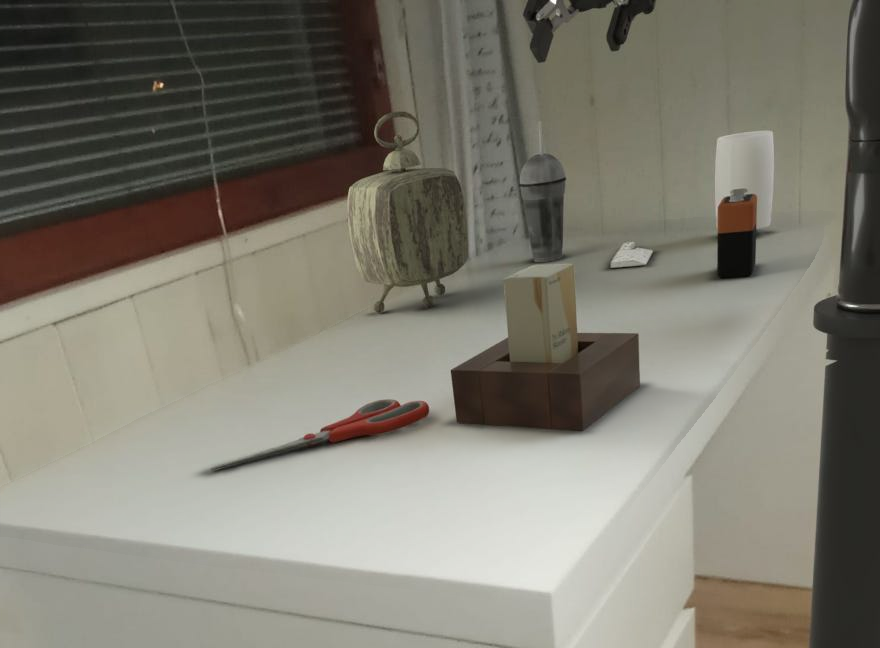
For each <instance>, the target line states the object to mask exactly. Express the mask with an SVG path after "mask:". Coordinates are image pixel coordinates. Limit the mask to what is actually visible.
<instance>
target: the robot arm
mask: <svg viewBox="0 0 880 648" xmlns="http://www.w3.org/2000/svg"><path fill="white" fill-rule="evenodd" d="M568 2H569V3H570V5H569V6H568V7H567V6H566V4H565V2H564V0H527V2H526V5H525V7H524V10H523V12H522V16H523V19H524V21H525V22H526V25H527V26H528V28H529V31H530V32H531V34H532V37H531V40H530V43H529V50H530V51H531V53H532V55H533V57H534V59H535V60H536V62H537V64H541V63H545V62H547V58H548V55H549V52H550V48H551V45H552V42H553V38H554V33H555V32H556V31H557V30H558V29H559V28H560V27H561V26H562V25H563V24H564V23H565V24H568V23H570V22H571V21H572V20H573V19H574V18H575V17H576V16H577V14H579V13H583V12H584V13H585V12H588V11H590V10H592V9H598V10H599V9H606V8H607V6H608V5H609V4H611V3H612V4H613V5H614V8H613V12H612V15H611V19H610V21H609V24H608V28H607V32H606V36H605V37H606V39H605V40H606V43H607V45H608V47H609V50H610V52H618V51H620V49H621V46H623V45H624V44H625V43H626V41H627V38H628V36H629V32H630V28H631V26H632V25H631V24H632V22H633V21H634V20H635V19H636V18H637V16H638V15H640V14H642V13H643V15H650V14H651V13H653V12H654V10H655V7H656V2H657V0H568ZM554 12H555V16H553V17H552V18H550V16H552V14H553V13H554ZM846 36H847V37H846V57H845V59H846V60H845V87H844V89H845V90H844V103H845V104H844V105H845V112H846V117H847V122H848V124H847V127H848V130H847V146H846V147H847V150H846V151H847V152H846V165H845V179H844V180H845V182H844V197H843V211H842V212H843V213H842V226H841V227H842V228H841V243H840V257H839V274H838V286H837V295H838V296H837V307H838V308H839V309H841V310H844V311H848V312H853V313H865V314H880V0H852V1H851V4H850V9H849V15H848V23H847V35H846Z"/></svg>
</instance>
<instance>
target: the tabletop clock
mask: <svg viewBox="0 0 880 648" xmlns="http://www.w3.org/2000/svg"><path fill="white" fill-rule="evenodd" d="M394 118H405V119H408V120H410V121H412V123H413V124H414V126H415V132H414V133H413V134H412V135H411V136H410V137H408V138H407V139H404V140H403V137H402V136H401V135H399V134H396V135H395V136H394V137H393V139H394V142H387V141H384V140H382V139H380V137H379V130H380V128H381V126H382V125H383V124H384V123H385V122H386V121H388V120H392V119H394ZM419 132H420V124H419V122H418V120H417V118H416V117H415V116H414V115H413V114H412V113H410V112H408V111H392V112H389V113H387V114H384V115H383V116H381V118H379V119H378V121H377V123H376V124H375V127H374V138H375V141H376V142H377V143H378V144H379V145H380V146H381V147H383V148H387V149H395V150H393V151H390V153H388V154H387V156H386V157H385V159H384V163H383V166H382V167H383V168H382V171H383V172H380V173H376V174H372V175H370V176H365V177H364V178H361V179H359V180H358V181H356V182H354V183H353V184H352V185H350V187H349V189H348V194H347V209H346V210H347V213H346V214H347V222H348V232H349V233H348V234H349V240H350V245H351V249H352V253H353V258H354V262H355V264H356V265H355V266H356V268H357V271H358V273H359V275H360V277H361V279H362V280H363V282H367V283H371V284H376V285H383V289H382V293H381V295H380V298H379V300H376V301H375V302H373V308H372V309H373V310H374V311H375V312H376V313H379V314H380V313H382V312H383V311H384V310H385V303H384V302H385V299H386V298H387V296H388V294H389V292H390V291H391V290H392V289H393V288H395V287H397V288H408V287H414V286H419V285H420V286H421V289H422V291H423V294H424V297H423V299H422V304H423V306H424V307H425V308H428V309H429V308H432V307H433V306H434V305H435V297H433V296H432V295H430V294H429V288H428V284H430V283H433V282H434V283H435V284H436V285H435V286H434V293H435V294H436V295H437V296H442V295H444V294H445V293H446V286H445V285H444V284H443V283H441V279H444V278H447V277H449V276H451V275H453V274H455V273H457V272H458V271H459V270H460V269H462V267H464V266H465V264H466V263H467V260H468V254H469V237H468V234H469V233H468V218H467V212H466V205H465V199H464V193H463V189H462V185H461V183H460V181H459V179H458V177H457V175H456V173H455V171H454V170H451V169H448V168H445V167H425V168H423V167H422V168H421V167H420V168H414V167H417V166H420V165H421V162H420V158H419V157H418V156H417V154H416V153H415V152H414V151H413V150H411V149H407V148H406V149H405V148H404V147H405V146H409V145H410V144H411V143H413V142H414V141H415V140H416V139H417V137H418V135H419Z"/></svg>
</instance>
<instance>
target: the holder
mask: <svg viewBox="0 0 880 648" xmlns="http://www.w3.org/2000/svg"><path fill="white" fill-rule="evenodd" d="M577 336H578V354H576V355H575V356H573V357H572V358H570V359H569V360H567V361H566V362H564V363H538V362H510V353H509V340H508V337H506V338H504V339H502V340H501V341H499V342H497V343H495V344H493V345H492V346H490V347H487V348H486V349H484V350H483V351H481V352H480V353H478V354H476V355H475V356H472V357H470V358H469V359H467V360H466V361H464V362H462V363H460V364H458V365H457V366H455V367H453V368H452V369H450V378H451V385H452V393H453V402H454V410H455V419H456V423H459V424H472V425H474V424H476V425H491V426H503V427H504V426H505V427H520V428H535V429H552V430H564V431H565V430H566V431H579V432H583V431H585V430H586V429H587V428H589V427H590V426H591V425H592V424H594V423H595V422H596V421H597V420H599V419H600V418H601V417H602V416H603V415H605V414H606V413H607V412H609V411H610V410H611V409H613V408H614V407H615V406H616V405H618V404H619V403H620V402H622V401H623V400H624V399H626V398H627V397H628V396H629V395H630V394H631V393H632V392H634V391H635V390H637V389H638V388H639V387H640V386H641V374H640V373H641V372H640V340H639V339H640V338H639V336H640V335H639V333H638V332H577Z"/></svg>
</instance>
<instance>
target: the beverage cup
mask: <svg viewBox="0 0 880 648" xmlns="http://www.w3.org/2000/svg"><path fill="white" fill-rule="evenodd" d="M538 133H539V134H538V135H539V137H538V138H539V153H538V154H535V155H532V156H531V157H530V158H529V159H527V160H526V162H525V163H524V165H523V167H522V169H521V170H520V175H519V184H518V187H519V188H520V194H521V197H522V200H523V204H524V210H525V218H526V222H527V223H526V224H527V229H528V235H529V240H530V241H529V243H530V248H531V253H532V257H533V262H535V263H547V262H549V263H550V262H554V261H558V260H561V259H562V258H563V247H564V204H565V203H564V202H565V201H564V200H565V199H564V195H565V191H566V181H567V177H566V173H565V169H564V167H563V165H562V163H561V161H560V160H559V159H558V158H557V157H556V156H554V155H552V154H550V153H544V136H543V135H544V134H543V133H544V132H543V121H541V120H540V121H538Z"/></svg>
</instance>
